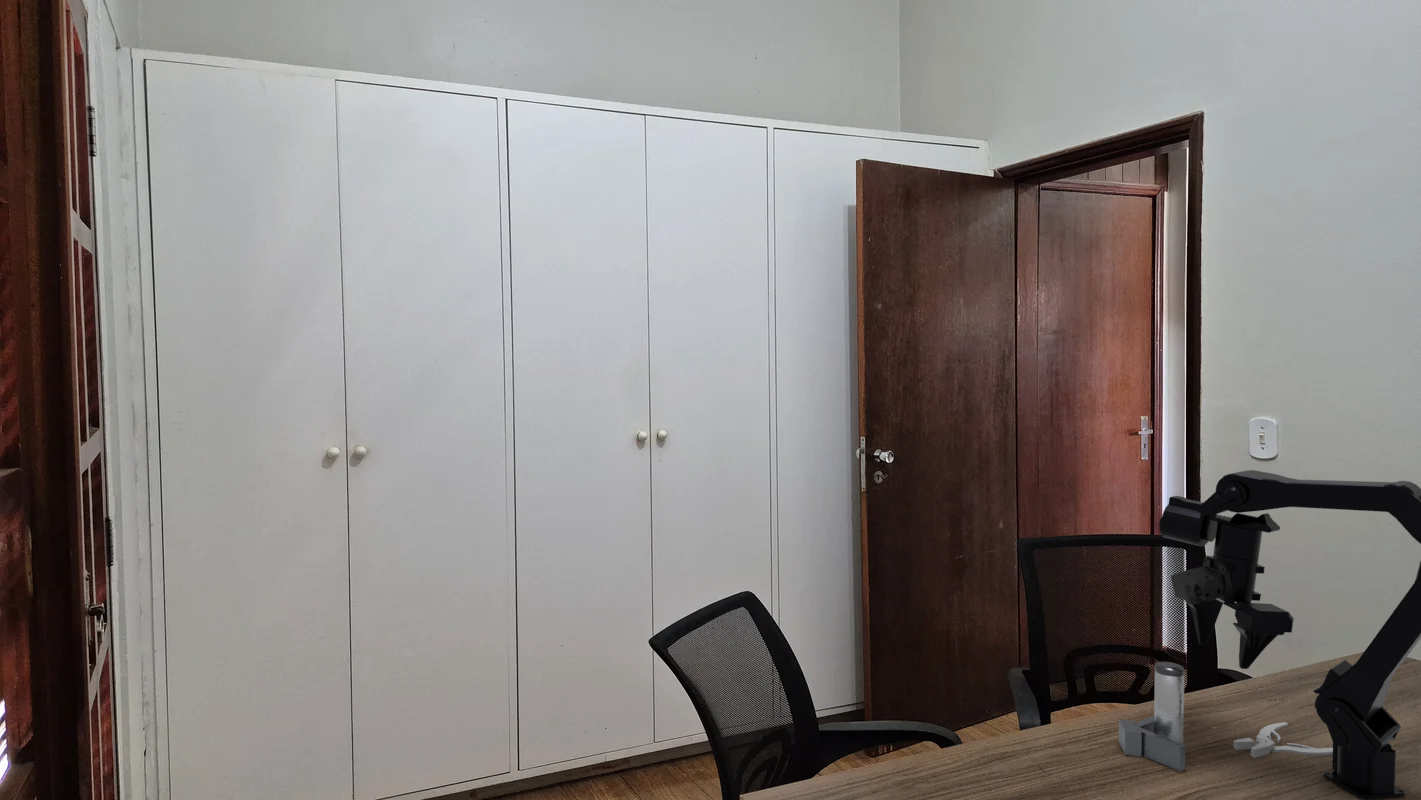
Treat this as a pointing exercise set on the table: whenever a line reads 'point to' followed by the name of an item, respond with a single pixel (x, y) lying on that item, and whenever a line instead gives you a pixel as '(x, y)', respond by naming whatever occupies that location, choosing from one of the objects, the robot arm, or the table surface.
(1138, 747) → the v block
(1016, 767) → the table surface
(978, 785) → the table surface
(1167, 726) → the axle
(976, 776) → the table surface
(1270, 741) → the pliers
